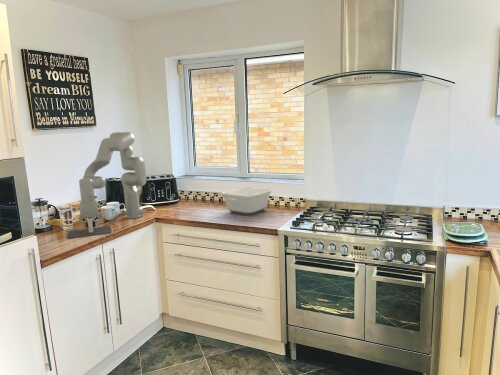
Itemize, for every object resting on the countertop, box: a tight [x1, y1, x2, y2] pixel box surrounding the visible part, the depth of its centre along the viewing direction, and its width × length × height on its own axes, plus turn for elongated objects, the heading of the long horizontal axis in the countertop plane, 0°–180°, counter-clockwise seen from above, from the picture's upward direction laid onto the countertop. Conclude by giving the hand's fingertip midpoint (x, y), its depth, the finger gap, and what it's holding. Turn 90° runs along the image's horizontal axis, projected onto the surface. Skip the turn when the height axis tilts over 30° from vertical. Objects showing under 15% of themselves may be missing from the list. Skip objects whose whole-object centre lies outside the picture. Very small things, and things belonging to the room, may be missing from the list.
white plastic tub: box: [221, 186, 272, 216], centre depth 265 cm, size 34×29×15 cm
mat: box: [66, 225, 112, 240], centre depth 228 cm, size 24×16×1 cm, turn 112°
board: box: [87, 217, 95, 233], centre depth 227 cm, size 10×2×8 cm, turn 22°
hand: (91, 228), depth 228 cm, fingers closed on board, 2 cm apart
